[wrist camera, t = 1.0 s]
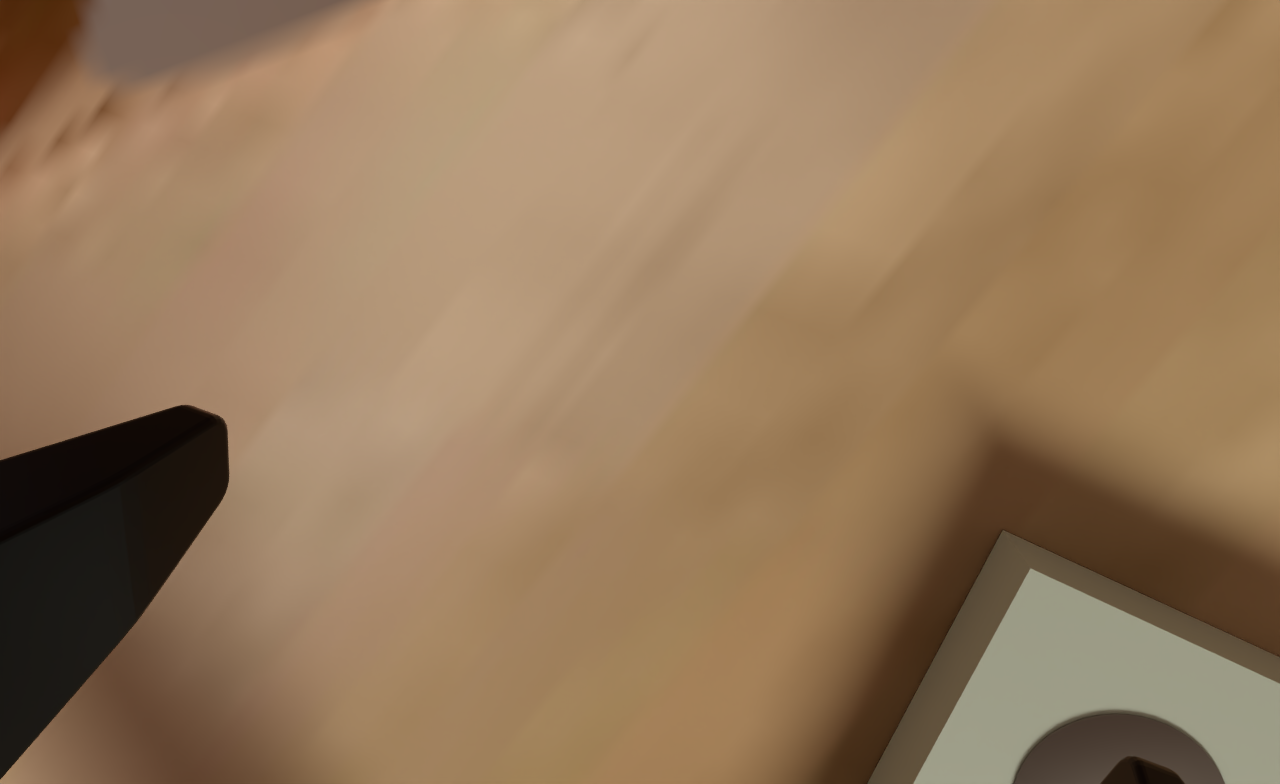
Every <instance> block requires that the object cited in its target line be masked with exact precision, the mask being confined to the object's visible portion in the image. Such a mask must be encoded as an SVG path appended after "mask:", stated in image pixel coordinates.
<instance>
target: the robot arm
mask: <svg viewBox="0 0 1280 784" xmlns="http://www.w3.org/2000/svg"><path fill="white" fill-rule="evenodd" d="M228 482H229V458H228V431H227V425H226V423H225V421H224V420H223V418H221V417H220V416H218V415H216V414H213V413H210V412H207V411H205V410H202V409H199V408H197V407H194V406H190V405H180V406H176V407H172V408H169V409H166V410H163V411H159V412H156V413H153V414H150V415H146V416H143V417H140V418H137V419H133V420H130V421H127V422H123V423H120V424H117V425H114V426H110V427H107V428H104V429H101V430H97V431H94V432H91V433H88V434H84V435H81V436H78V437H75V438H71V439H68V440H65V441H62V442H58V443H55V444H52V445H49V446H45V447H42V448H39V449H36V450H32V451H29V452H26V453H23V454H19V455H16V456H13V457H10V458H6V459H3V460H0V779H1V778H2V777H3V776H4V775H5V774H6V772H7V771H8V770H9V769H10V768H11V767H12V765H13V764H14V763H15V762H16V761H17V760H18V759H19V757H20V756H21V755H22V754H23V753H24V752H25V751H26V749H27V748H28V747H29V746H30V745H31V744H32V742H33V741H34V740H35V739H36V738H37V737H38V736H39V734H40V733H41V732H42V731H43V730H44V729H45V728H46V726H47V725H48V724H49V723H50V722H51V721H52V719H53V718H54V717H55V716H56V715H57V714H58V713H59V711H60V710H61V709H62V708H63V707H64V706H65V705H66V703H67V702H68V701H69V700H70V699H71V698H72V696H73V695H74V694H75V693H76V692H77V691H78V690H79V688H80V687H81V686H82V685H83V684H84V683H85V681H86V680H87V679H88V678H89V677H90V676H91V675H92V673H93V672H94V671H95V670H96V669H97V668H98V667H99V665H100V664H101V663H102V662H103V661H104V660H105V658H106V657H107V656H108V655H109V654H110V653H111V652H112V650H113V649H114V648H115V647H116V646H117V645H118V644H119V642H120V641H121V640H122V639H123V638H124V636H125V635H126V634H127V633H128V632H129V630H130V629H131V628H132V627H133V626H134V624H135V623H136V622H137V621H138V619H139V618H140V617H141V615H142V614H143V612H144V611H145V610H146V608H147V607H148V606H149V604H150V603H151V602H152V600H153V599H154V597H155V596H156V594H157V593H158V592H159V590H160V589H161V587H162V586H163V584H164V583H165V582H166V580H167V579H168V577H169V576H170V574H171V573H172V571H173V570H174V569H175V567H176V566H177V564H178V563H179V561H180V560H181V559H182V557H183V556H184V554H185V553H186V551H187V550H188V549H189V547H190V546H191V544H192V543H193V541H194V540H195V538H196V537H197V536H198V534H199V533H200V531H201V530H202V528H203V527H204V526H205V524H206V523H207V521H208V520H209V518H210V517H211V515H212V514H213V513H214V511H215V510H216V508H217V507H218V505H219V504H220V502H221V501H222V499H223V497H224V495H225V493H226V490H227V487H228ZM1100 784H1185V783H1184V781H1183V780H1182V779H1181V777H1180V776H1179V775H1178V774H1177V773H1176V772H1174V771H1173V770H1171V769H1169V768H1167V767H1164V766H1161V765H1159V764H1156V763H1153V762H1151V761H1148V760H1145V759H1143V758H1140V757H1137V756H1127V757H1125V758H1122V759H1121V760H1120V761H1119V762H1118V763H1117V764H1116V765H1115V766H1114V768H1113V769H1112V770H1111V771H1110V772H1109V774H1108V775H1107V776H1106V777H1105V778H1104V780H1103V781H1102V782H1101V783H1100Z"/></svg>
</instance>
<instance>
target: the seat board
mask: <svg viewBox="0 0 1280 784" xmlns="http://www.w3.org/2000/svg"><path fill="white" fill-rule="evenodd" d="M1127 756H1137V757H1140V758H1143V759H1145V760H1148V761H1151V762H1153V763H1156V764H1159V765H1161V766H1164V767H1167V768H1169V769H1171V770H1173V771H1174V772H1176V773H1177V774H1178V775H1179V776H1180V777H1181V779H1182V780H1183V781H1184V783H1185V784H1280V657H1278V656H1276V655H1274V654H1272V653H1269V652H1267V651H1265V650H1263V649H1261V648H1259V647H1256V646H1254V645H1252V644H1250V643H1248V642H1245V641H1243V640H1241V639H1239V638H1237V637H1235V636H1232V635H1230V634H1228V633H1226V632H1224V631H1222V630H1219V629H1217V628H1215V627H1213V626H1211V625H1209V624H1206V623H1204V622H1202V621H1200V620H1198V619H1195V618H1193V617H1191V616H1189V615H1187V614H1185V613H1182V612H1180V611H1178V610H1176V609H1174V608H1172V607H1169V606H1167V605H1165V604H1163V603H1161V602H1159V601H1156V600H1154V599H1152V598H1150V597H1148V596H1146V595H1143V594H1141V593H1139V592H1137V591H1135V590H1132V589H1130V588H1128V587H1126V586H1124V585H1122V584H1119V583H1117V582H1115V581H1113V580H1111V579H1109V578H1106V577H1104V576H1102V575H1100V574H1098V573H1096V572H1093V571H1091V570H1089V569H1087V568H1085V567H1082V566H1080V565H1078V564H1076V563H1074V562H1072V561H1069V560H1067V559H1065V558H1063V557H1061V556H1059V555H1056V554H1054V553H1052V552H1050V551H1048V550H1046V549H1043V548H1041V547H1039V546H1037V545H1035V544H1032V543H1030V542H1028V541H1026V540H1024V539H1022V538H1019V537H1017V536H1015V535H1013V534H1011V533H1009V532H1006V531H1004V530H1002V532H1001V534H1000V536H999V538H998V540H997V542H996V543H995V545H994V547H993V549H992V551H991V553H990V555H989V557H988V558H987V560H986V562H985V564H984V566H983V568H982V570H981V572H980V573H979V575H978V577H977V579H976V581H975V583H974V585H973V587H972V588H971V590H970V592H969V594H968V596H967V598H966V600H965V602H964V603H963V605H962V607H961V609H960V611H959V613H958V615H957V617H956V618H955V620H954V622H953V624H952V626H951V628H950V630H949V631H948V633H947V635H946V637H945V639H944V641H943V643H942V645H941V646H940V648H939V650H938V652H937V654H936V656H935V658H934V660H933V661H932V663H931V665H930V667H929V669H928V671H927V673H926V675H925V676H924V678H923V680H922V682H921V684H920V686H919V688H918V690H917V691H916V693H915V695H914V697H913V699H912V701H911V703H910V704H909V706H908V708H907V710H906V712H905V714H904V716H903V718H902V719H901V721H900V723H899V725H898V727H897V729H896V731H895V733H894V734H893V736H892V738H891V740H890V742H889V744H888V746H887V748H886V749H885V751H884V753H883V755H882V757H881V759H880V761H879V763H878V764H877V766H876V768H875V770H874V772H873V774H872V776H871V778H870V779H869V781H868V783H867V784H1100V783H1101V782H1102V781H1103V780H1104V778H1105V777H1106V776H1107V775H1108V774H1109V772H1110V771H1111V770H1112V769H1113V768H1114V766H1115V765H1116V764H1117V763H1118V762H1119V761H1120V760H1121V759H1122V758H1125V757H1127Z"/></svg>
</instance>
